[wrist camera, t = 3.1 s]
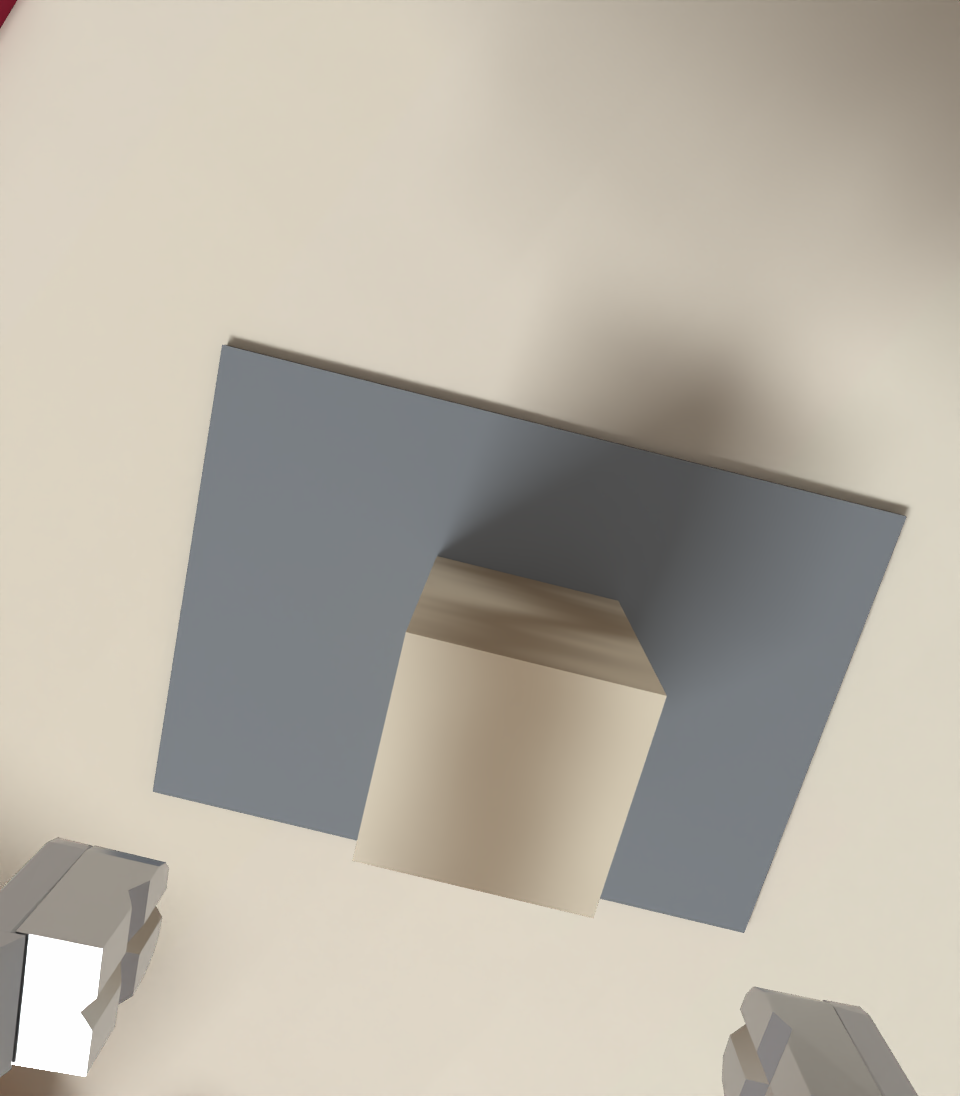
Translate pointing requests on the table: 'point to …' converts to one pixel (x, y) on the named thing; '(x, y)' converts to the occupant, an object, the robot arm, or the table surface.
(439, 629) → the maple block
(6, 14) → the red board with handle
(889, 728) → the table surface
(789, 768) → the grey mat
